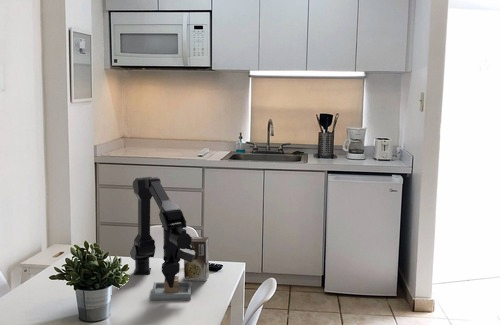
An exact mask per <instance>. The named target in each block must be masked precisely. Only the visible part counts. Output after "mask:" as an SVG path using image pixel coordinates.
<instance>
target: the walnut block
mask: <svg viewBox="0 0 500 325" xmlns="http://www.w3.org/2000/svg"><path fill="white" fill-rule="evenodd" d="M163 282H164V293H178V292H179V282H180V277H179V275H175V279H174V284H173V288H170V287H169V285H168V283H167V281H166V278H165V277H164V280H163Z"/></svg>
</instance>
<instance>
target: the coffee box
mask: <svg viewBox="0 0 500 325" xmlns="http://www.w3.org/2000/svg"><path fill="white" fill-rule="evenodd" d="M191 239H192V241H191V244H190V246H192V250H194V251H195V256H194V259H193V261H192V262H188V261H186V260H183V270H184V271H183V276H184V278H183V280H184V281H200V282H205V281H206V282H207V281H208V278H209V276H210V270H209V262H210V261H209V260H210V259H209V255H210V254H209V237H207V236H191Z"/></svg>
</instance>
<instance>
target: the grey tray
mask: <svg viewBox="0 0 500 325" xmlns="http://www.w3.org/2000/svg"><path fill="white" fill-rule="evenodd" d="M150 296H151V297H150V298H151V301H181V300H182V301H184V300H186V301H189V300H191V298H192V281H179V292H178V293H164V281H163V282H161V281H159V282H157V281H156V282H153V284H152V290H151V295H150Z"/></svg>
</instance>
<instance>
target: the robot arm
mask: <svg viewBox="0 0 500 325" xmlns="http://www.w3.org/2000/svg"><path fill="white" fill-rule="evenodd" d="M132 189H133V193H134V195H135V196H136V197H137V206H138V207H137V235H136V236H135V237H134V240H133V246H132V247H131V249H130V251H129V257H130V258H131V259H132V260H133V261H135V262H134V265H135V266H134V267H135V268H134V271H133V275H150V274H151V272H152V271H151V270H152V268H151V267H150V258H154V257H155V254H156V253H155V252H156V244H155V243H156V242H155V239H153V237H152V235H151V199H154V201H155V204H156V205H157V207H158V209H159V214H158V216H159V220H160V223H161V228H162V229H163V247H162V248H163V256H162V257H163V258H162V259H163V261H164V262H163V263H161V273H162V275H163V277H164V279H165V278H166V281H167V283H168V285H169V287H170V288H173V284H174V279H175V276H177V274H179V273H180V269H181V268H180V267H181V266H180V264H181V263H180V261H181V260H183V261H184V260H186V261H188V262H192V261H193V259H194V256H195V251H194V250H192V246H190V244H191V241H192V239H191V237H192V236H191V234H189V233H187V229H186V228H187V221H186V219H185V215H184V213H183V211H182V210H181V208H180V207H179V205H178V204H176V203H174V202H172V200H171V198H169V195H168V194H167V192H166V190H165V188H164V187H163V185H162V184H161V179H160V177H156V176H155V177H152V176H145V177H136V178H135V179H134V180H133V181H132Z"/></svg>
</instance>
